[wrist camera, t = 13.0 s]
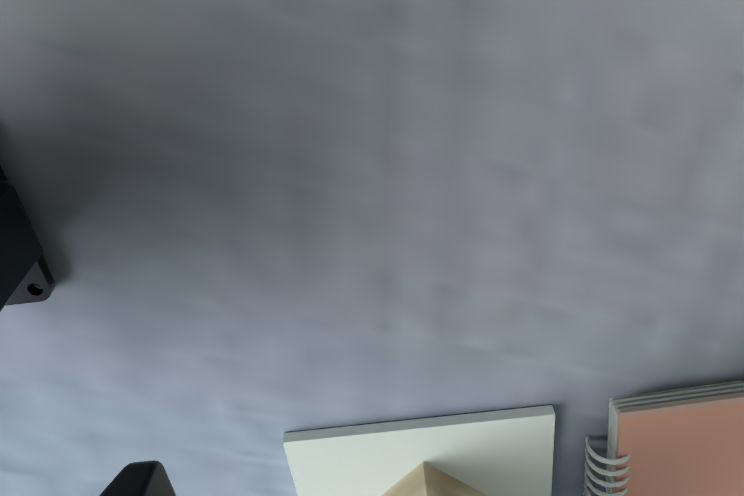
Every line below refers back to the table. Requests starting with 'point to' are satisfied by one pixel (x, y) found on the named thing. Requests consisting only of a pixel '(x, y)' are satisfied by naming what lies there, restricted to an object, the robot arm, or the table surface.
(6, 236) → the robot arm
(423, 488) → the maple block
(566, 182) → the table surface
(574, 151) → the table surface
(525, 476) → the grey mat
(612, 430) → the notebook
